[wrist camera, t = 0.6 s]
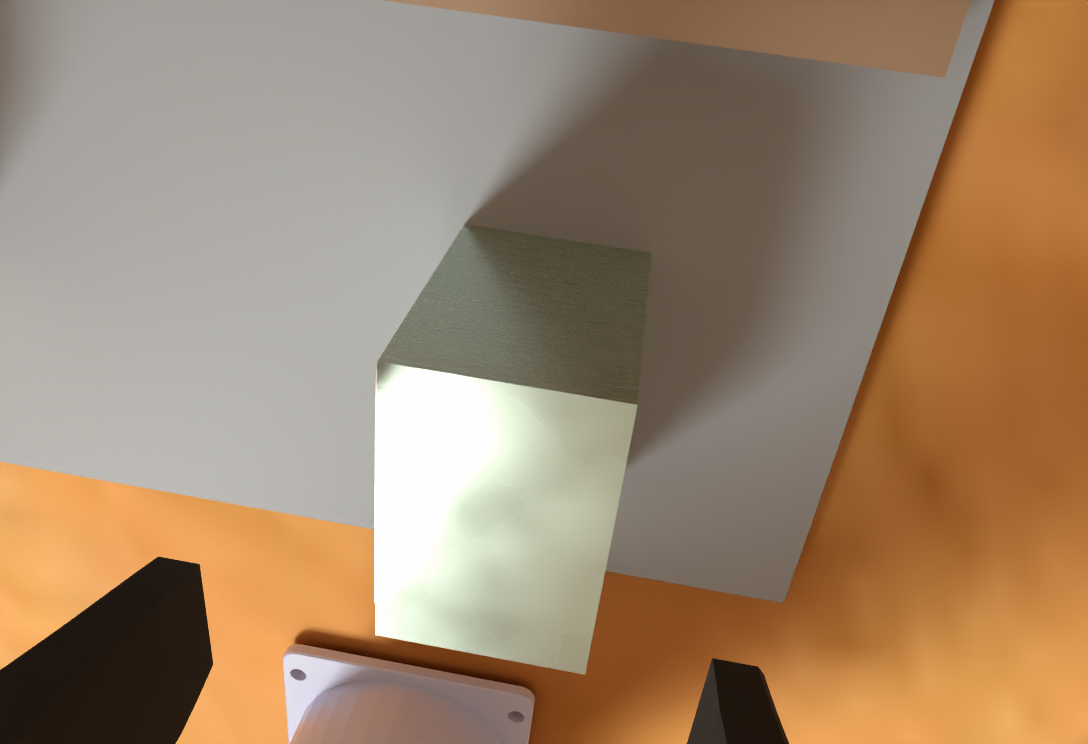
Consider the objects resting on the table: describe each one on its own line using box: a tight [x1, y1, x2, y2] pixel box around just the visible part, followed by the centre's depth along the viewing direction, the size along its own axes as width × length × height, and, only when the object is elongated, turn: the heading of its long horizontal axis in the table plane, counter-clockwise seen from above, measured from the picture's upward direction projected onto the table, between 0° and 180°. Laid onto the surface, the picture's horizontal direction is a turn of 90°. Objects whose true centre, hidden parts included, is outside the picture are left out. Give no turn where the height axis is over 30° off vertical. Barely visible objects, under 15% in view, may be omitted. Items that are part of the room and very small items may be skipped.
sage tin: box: [374, 224, 651, 675], centre depth 17 cm, size 4×6×6 cm
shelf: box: [0, 0, 995, 603], centre depth 19 cm, size 15×30×3 cm, turn 84°
